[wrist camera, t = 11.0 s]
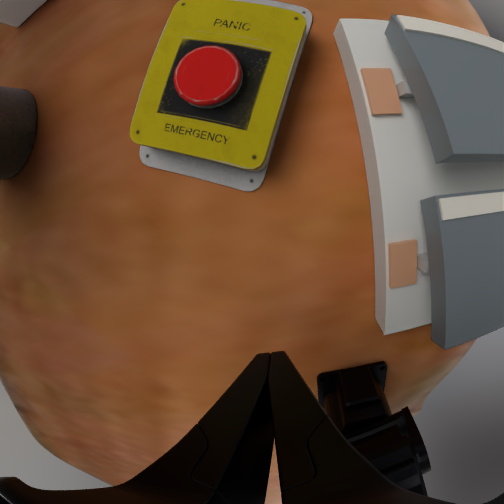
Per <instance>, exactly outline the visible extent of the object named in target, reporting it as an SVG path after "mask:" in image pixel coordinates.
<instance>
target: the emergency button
mask: <svg viewBox="0 0 504 504" xmlns="http://www.w3.org/2000/svg"><path fill="white" fill-rule="evenodd" d="M311 23H312V14H311V13H310V11H309V10H308V9H306V8H304V7H300V6H296V5H292V4H288V3H283V2H278V1H273V0H180V1H179V2H177V4H176V5H175V6H174V8H173V10H172V12H171V14H170V16H169V19H168V21H167V23H166V25H165V28H164V30H163V32H162V35H161V37H160V39H159V42H158V44H157V47H156V49H155V52H154V55H153V57H152V60H151V63H150V65H149V68H148V71H147V74H146V77H145V80H144V83H143V86H142V89H141V92H140V95H139V98H138V102H137V105H136V109H135V112H134V116H133V119H132V123H131V127H130V137H131V139H132V141H134V142H136V143H137V144H140V145H141V146H140V159H141V161H142V163H143V164H145V165H147V166H149V167H154V168H158V169H162V170H166V171H171V172H175V173H179V174H183V175H187V176H191V177H195V178H199V179H202V180H206V181H210V182H214V183H217V184H221V185H225V186H228V187H232V188H236V189H239V190H243V191H254V190H255V189H257V188H258V187H260V185H261V183H262V182H263V180H264V177H265V174H266V170H267V167H268V164H269V160H270V157H271V154H272V150H273V147H274V144H275V140H276V137H277V134H278V130H279V127H280V124H281V120H282V117H283V114H284V110H285V107H286V104H287V101H288V97H289V94H290V91H291V87H292V84H293V81H294V78H295V74H296V71H297V68H298V65H299V61H300V58H301V55H302V52H303V49H304V45H305V42H306V39H307V36H308V33H309V29H310V26H311Z"/></svg>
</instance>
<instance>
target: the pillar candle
mask: <svg viewBox="0 0 504 504" xmlns="http://www.w3.org/2000/svg"><path fill="white" fill-rule="evenodd" d="M36 123H37V109H36V103H35V99H34V97H33V96H32V94H31V93H30V92H29V91H27V90H23V89H17V88H10V87H3V86H0V180H1V179H6V178H11V177H14V176H15V175H16V174H18V172H20V170H21V169H22V168H23V166H24V165H25V162H26V160H27V158H28V157H29V154H30V152H31V150H32V146H33V143H34V138H35V132H36Z"/></svg>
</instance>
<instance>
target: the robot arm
mask: <svg viewBox="0 0 504 504" xmlns="http://www.w3.org/2000/svg"><path fill="white" fill-rule="evenodd" d="M381 366H383V367H381ZM386 373H387V364H386V362H384V361H381V362H377V363H372V364H368V365H363V366H358V367H353V368H348V369H343V370H337V371H332V372H326V373H321V374H319V375H318V376H317V385H318V399H319V401H318V400H317V399H316V397H315V396H314V394H313V393H312V391H311V390H310V388H309V387H308V385H307V384H306V382H305V381H304V379H303V378H302V376H301V375H300V374H299V372H298V371H297V369H296V368H295V366H294V365H293V363H292V362H291V360H290V359H289V357H288V356H287V354H286V353H285V352H284V351H278V352H272V353H271V354H270V353H260V354H257V355H256V356H255V357H254V358H253V360H252V361H251V362H250V363H249V364H248V366H247V367H246V368H245V369H244V370H243V372H242V373H241V374H240V375H239V376H238V378H237V379H236V380H235V381H234V382H233V383H232V385H231V386H230V387H229V388H228V389H227V390H226V392H225V393H224V394H223V395H222V396H221V397H220V398H219V400H218V401H217V402H216V403H215V404H214V405H213V406H212V407H211V409H210V410H209V411H208V412H207V413H206V414H205V415H204V416H203V417H202V418H201V420H200V421H199V422H198V424H199V425H198V424H196V425H195V426H194V427H193V428H192V429H191V430H190V431H189V432H188V433H187V434H186V435H185V436H184V437H183V438H182V439H181V440H180V441H179V442H178V443H177V444H176V445H175V446H174V447H172V448H171V449H170V450H169V451H168V452H166V453H165V454H164V455H163V456H162V457H160V458H159V459H158V460H156V461H155V462H154V463H152V464H151V465H150V466H149V467H147V468H146V469H144V470H143V471H142V472H140V473H139V474H138V475H136V476H135V477H133V478H132V479H130V480H129V481H127V482H125V483H122V484H120V485H117V486H113V487H106V488H97V489H85V490H84V489H83V490H41V489H36V488H33V487H30V486H28V485H27V484H25V483H24V482H22V481H21V480H20V479H18V478H16V477H0V494H2V495H3V496H4V497H5V498H6V499H7V500H8V501H7V500H6V499H5V498H4V497H2V496H1V495H0V504H11V503H12V504H264V503H265V497H266V491H267V485H268V478H269V472H270V465H271V458H272V451H273V443H274V437H275V446H276V454H277V463H278V472H279V480H280V489H281V497H282V504H454V503H450V502H446V501H442V500H438V499H434V498H431V497H428V496H427V491H426V487H425V484H424V480H423V476H422V475H423V474H425V473H427V472H429V471H431V466H430V461H429V458H428V455H427V451H426V448H425V445H424V442H423V440H422V437H421V435H420V432H419V430H418V428H417V426H416V424H415V421H414V419H413V417H412V415H411V413H410V411H409V409H408V406H407V407H405V408H403V409H401V411H399V412H397V413H395V414H393V415H392V413H391V410H390V407H389V405H388V402H387V399H386V397H385V394H384V387H385V380H386ZM321 378H324V379H321ZM483 504H504V493H503V494H501V495H500V496H498V497H497V498H495V499H494V500H491V501H489V502H487V503H483Z"/></svg>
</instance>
